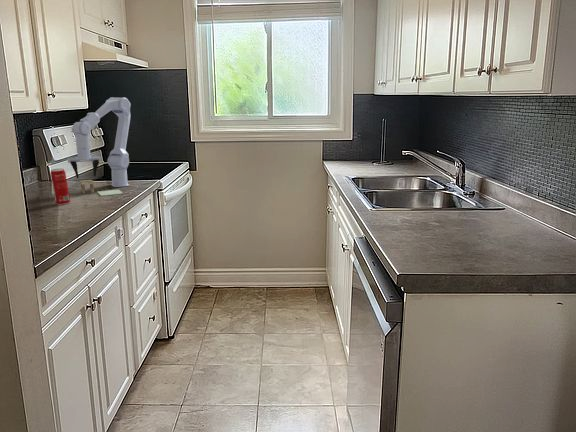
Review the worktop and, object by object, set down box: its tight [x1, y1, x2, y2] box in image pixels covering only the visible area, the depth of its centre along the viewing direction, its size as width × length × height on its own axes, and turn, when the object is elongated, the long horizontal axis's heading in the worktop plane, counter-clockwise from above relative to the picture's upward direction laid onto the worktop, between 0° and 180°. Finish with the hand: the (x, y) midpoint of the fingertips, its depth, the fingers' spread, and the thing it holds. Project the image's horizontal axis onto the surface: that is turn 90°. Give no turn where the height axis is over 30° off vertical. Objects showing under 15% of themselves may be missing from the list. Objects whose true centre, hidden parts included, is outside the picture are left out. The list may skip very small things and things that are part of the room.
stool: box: [80, 179, 95, 195], centre depth 237 cm, size 5×5×6 cm
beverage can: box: [50, 168, 71, 206], centre depth 212 cm, size 6×6×15 cm
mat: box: [97, 189, 124, 197], centre depth 236 cm, size 10×10×1 cm
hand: (86, 176), depth 235 cm, fingers open, 7 cm apart
